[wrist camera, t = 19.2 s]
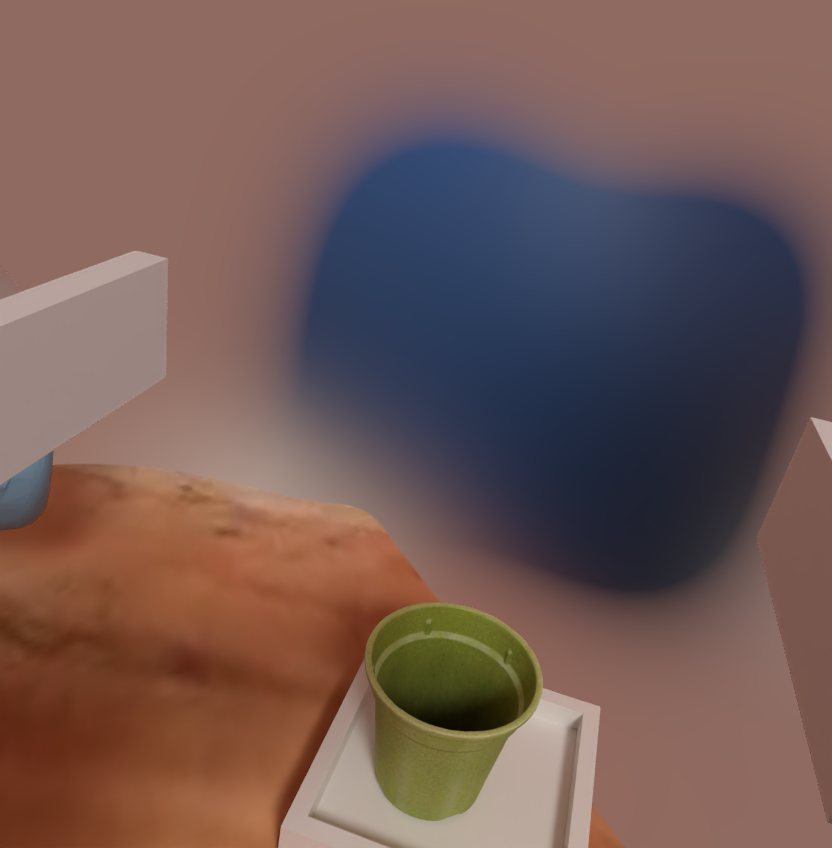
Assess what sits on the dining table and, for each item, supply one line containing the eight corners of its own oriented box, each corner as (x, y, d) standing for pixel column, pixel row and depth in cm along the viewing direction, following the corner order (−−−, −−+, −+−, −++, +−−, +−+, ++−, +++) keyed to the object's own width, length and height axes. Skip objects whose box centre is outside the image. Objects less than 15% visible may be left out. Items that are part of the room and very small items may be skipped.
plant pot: (316, 809, 41) (335, 692, 37) (380, 688, 49) (401, 581, 45) (484, 882, 39) (523, 766, 35) (521, 743, 47) (556, 636, 43)
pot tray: (276, 857, 39) (281, 825, 38) (371, 660, 52) (377, 632, 51) (565, 972, 37) (579, 941, 36) (589, 734, 50) (600, 707, 49)
